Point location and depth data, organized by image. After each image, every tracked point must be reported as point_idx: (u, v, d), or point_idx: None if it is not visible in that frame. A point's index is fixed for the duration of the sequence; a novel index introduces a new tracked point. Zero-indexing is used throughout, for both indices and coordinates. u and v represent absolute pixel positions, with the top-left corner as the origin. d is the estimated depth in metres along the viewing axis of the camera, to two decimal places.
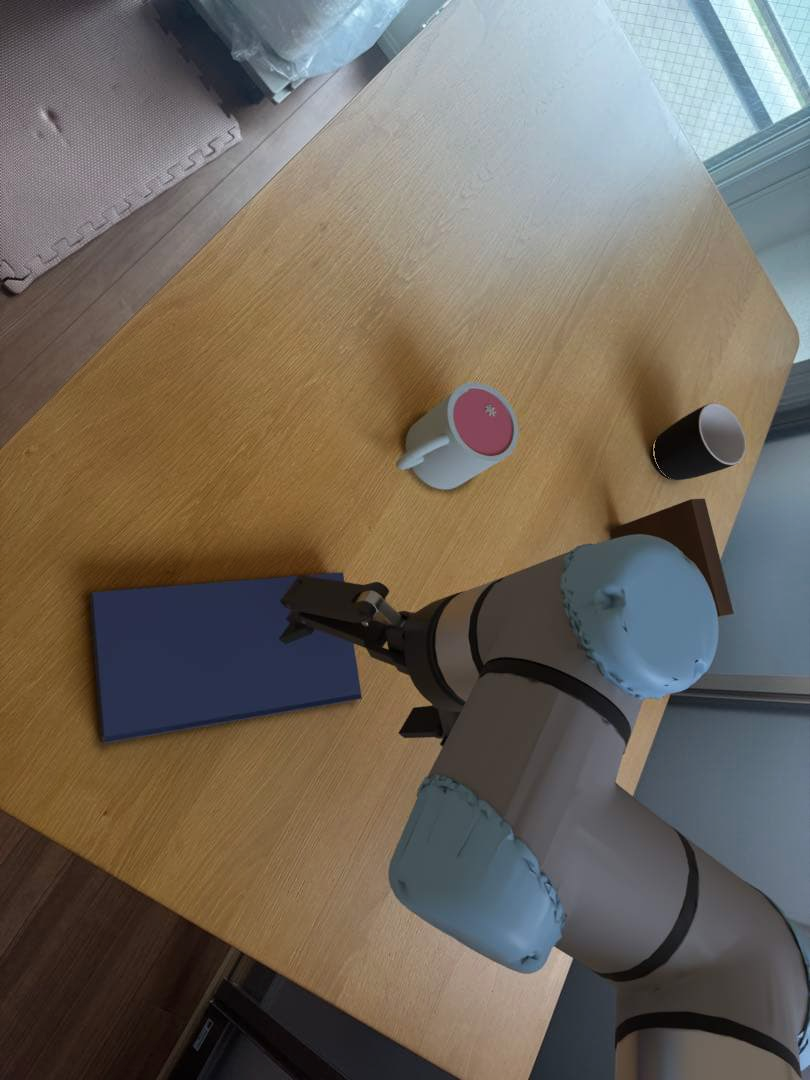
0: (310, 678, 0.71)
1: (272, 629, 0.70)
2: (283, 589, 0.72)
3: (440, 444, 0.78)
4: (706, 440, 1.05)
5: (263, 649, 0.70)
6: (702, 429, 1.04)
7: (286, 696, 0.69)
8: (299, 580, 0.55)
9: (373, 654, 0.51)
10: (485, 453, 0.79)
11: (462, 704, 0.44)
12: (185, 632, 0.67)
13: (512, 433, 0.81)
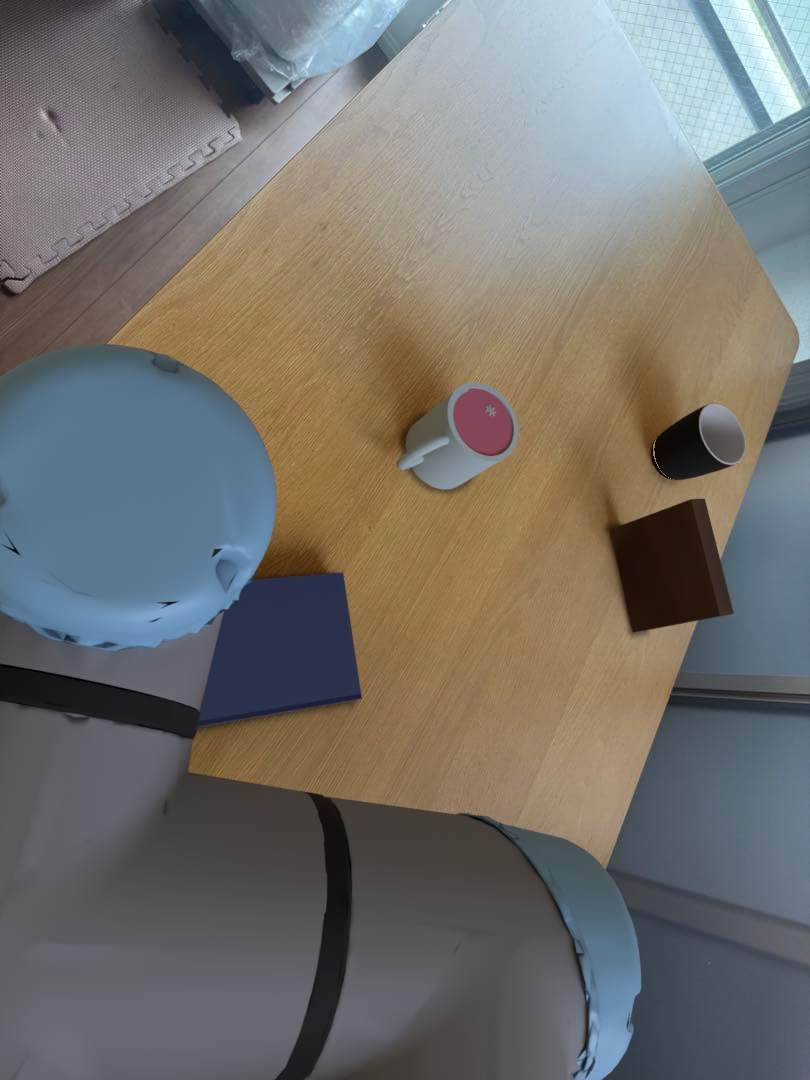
0: (310, 678, 0.71)
1: (272, 629, 0.70)
2: (283, 589, 0.72)
3: (440, 444, 0.78)
4: (706, 440, 1.05)
5: (263, 649, 0.70)
6: (702, 429, 1.04)
7: (286, 696, 0.69)
8: None
9: None
10: (485, 453, 0.79)
11: None
12: None
13: (512, 433, 0.81)
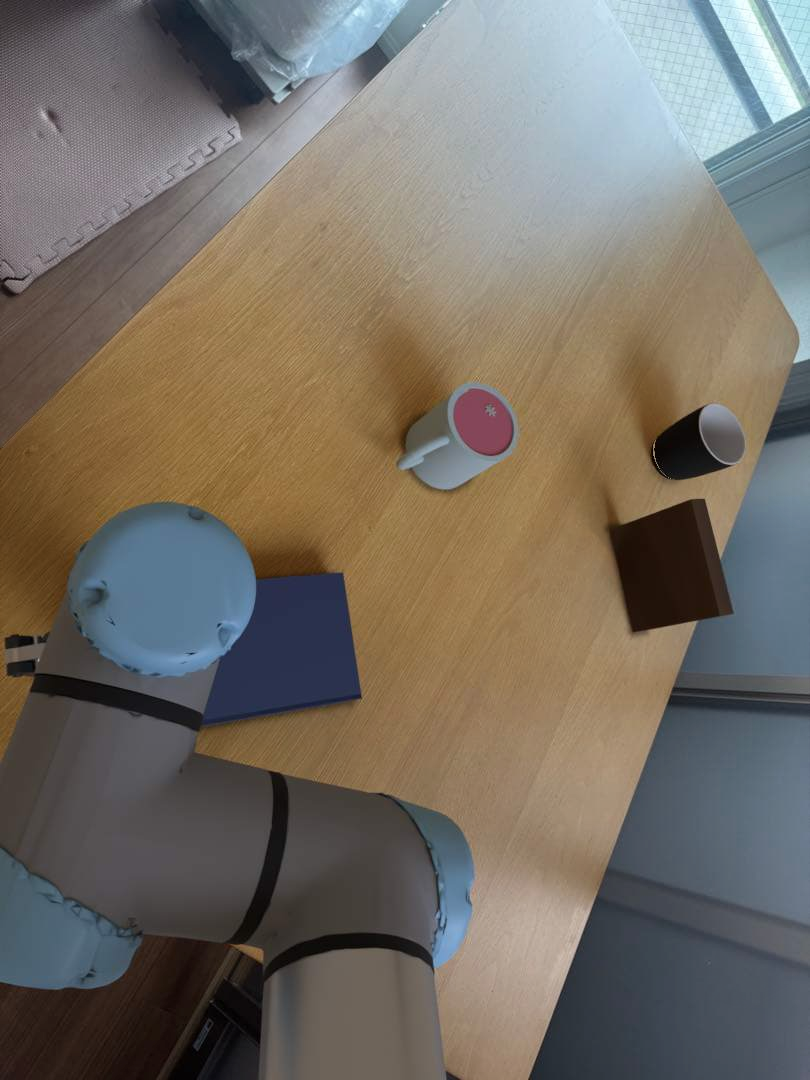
0: (310, 678, 0.71)
1: (272, 629, 0.70)
2: (283, 589, 0.72)
3: (440, 444, 0.78)
4: (706, 440, 1.05)
5: (263, 649, 0.70)
6: (702, 429, 1.04)
7: (286, 696, 0.69)
8: None
9: None
10: (485, 453, 0.79)
11: None
12: None
13: (512, 433, 0.81)
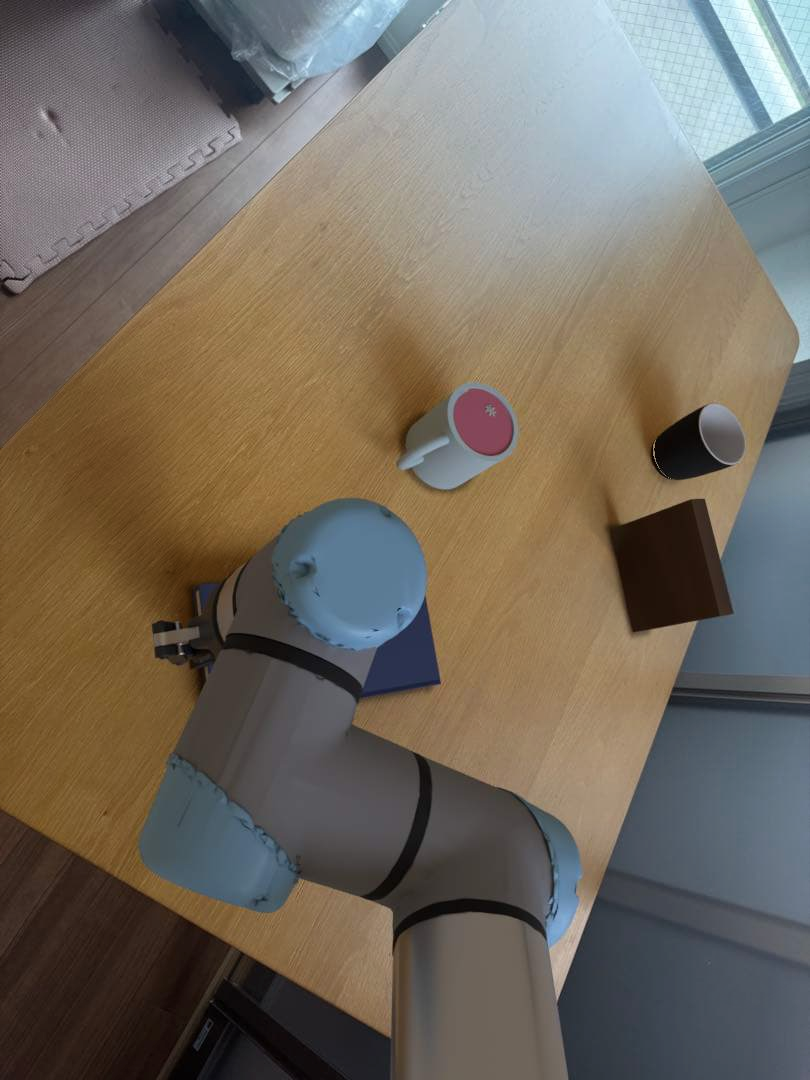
0: (395, 665, 0.75)
1: None
2: None
3: (440, 444, 0.78)
4: (706, 440, 1.05)
5: None
6: (702, 429, 1.04)
7: (373, 681, 0.74)
8: None
9: None
10: (485, 453, 0.79)
11: None
12: None
13: (512, 433, 0.81)
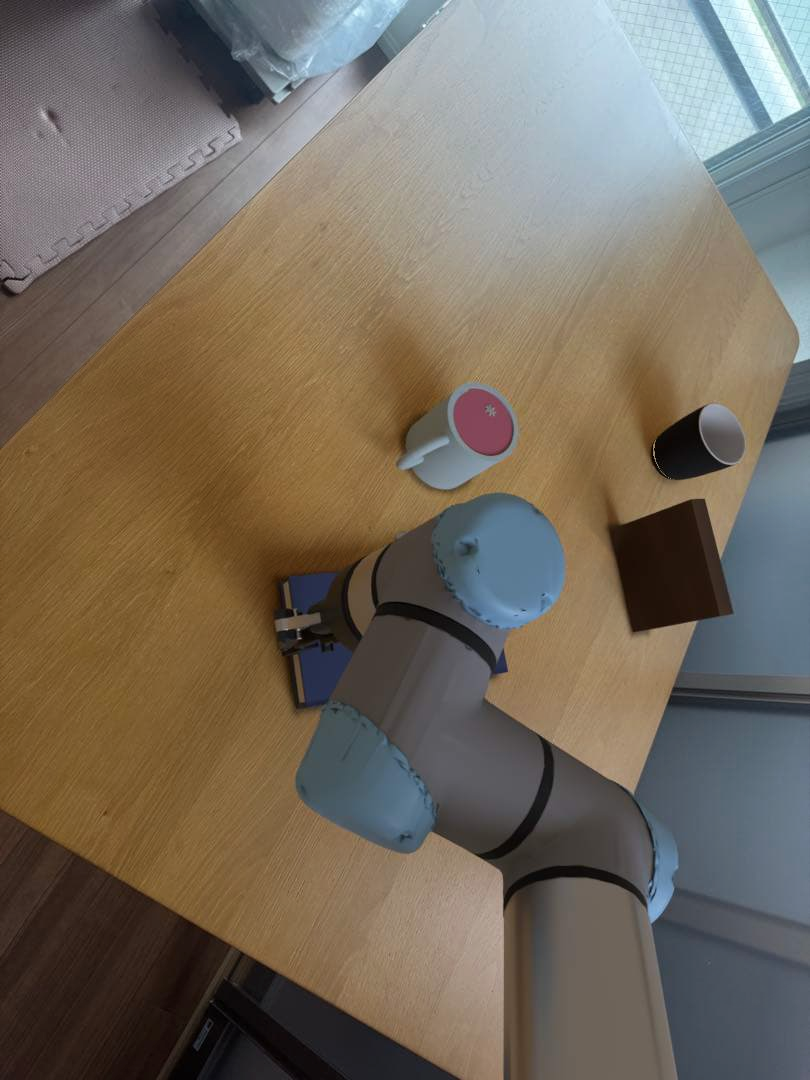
0: None
1: None
2: None
3: (440, 444, 0.78)
4: (706, 440, 1.05)
5: None
6: (702, 429, 1.04)
7: None
8: (275, 627, 0.64)
9: (331, 642, 0.59)
10: (485, 453, 0.79)
11: None
12: None
13: (512, 433, 0.81)
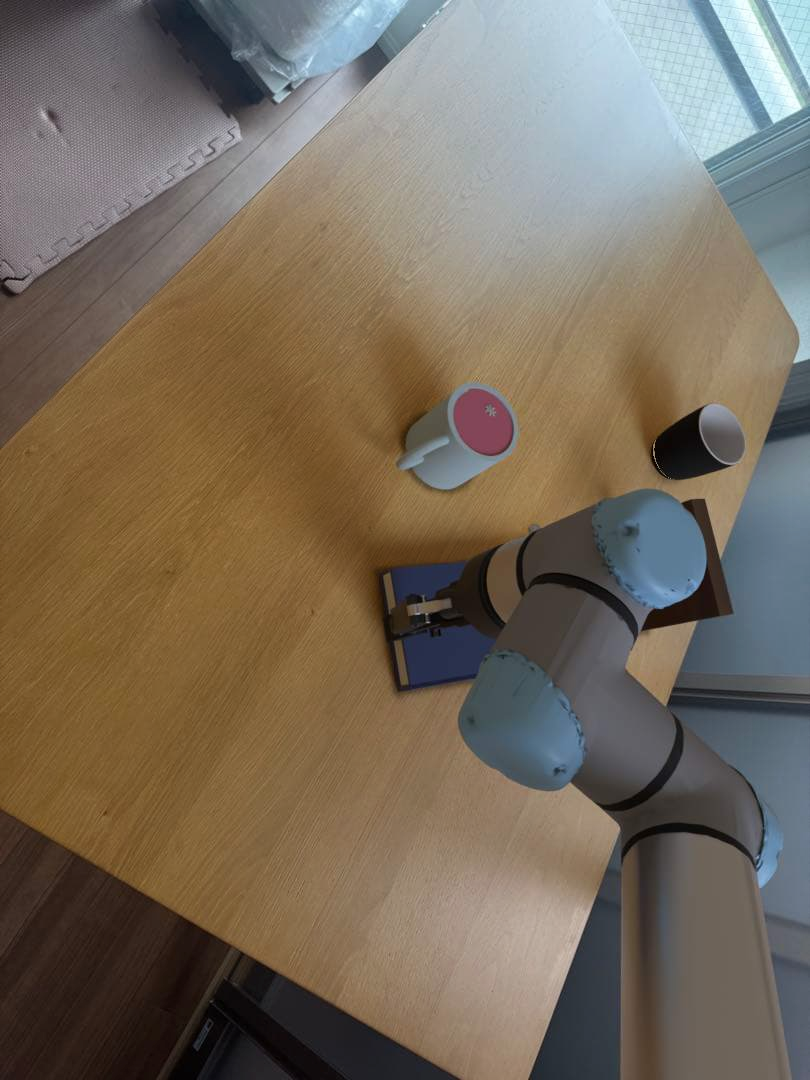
0: None
1: None
2: None
3: (440, 444, 0.78)
4: (706, 440, 1.05)
5: None
6: (702, 429, 1.04)
7: None
8: (391, 613, 0.69)
9: (451, 627, 0.65)
10: (485, 453, 0.79)
11: None
12: None
13: (512, 433, 0.81)
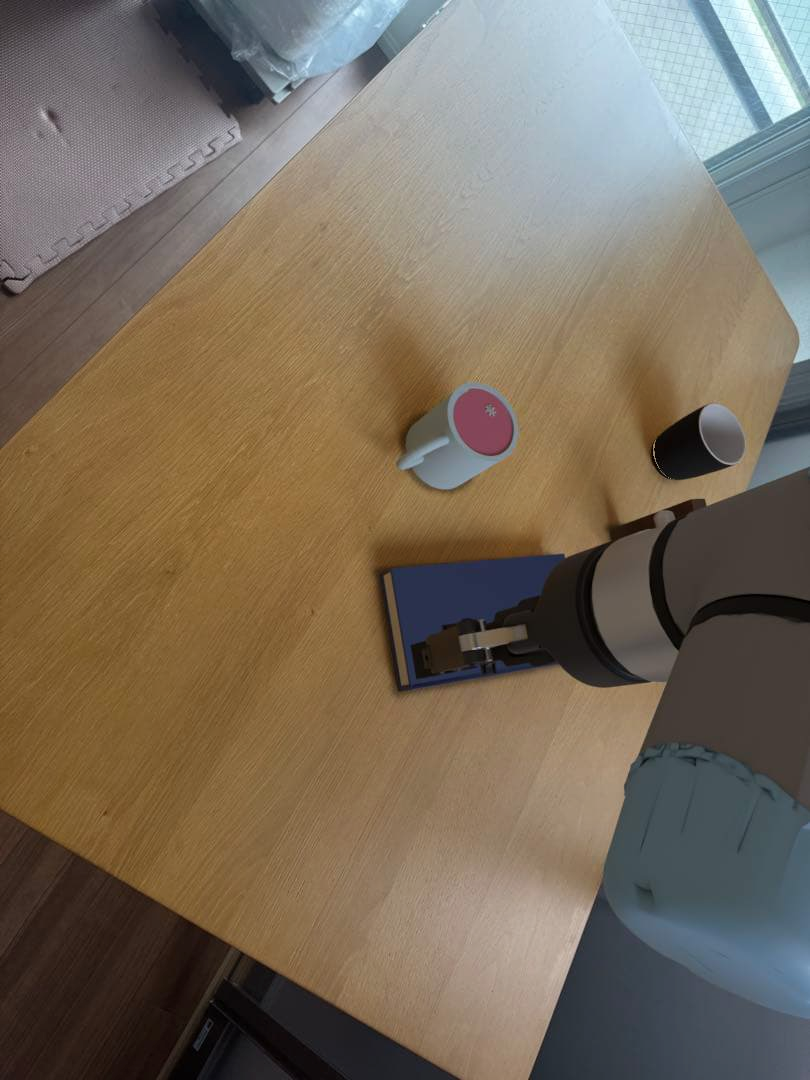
0: None
1: (518, 600, 0.85)
2: (522, 566, 0.86)
3: (440, 444, 0.78)
4: (706, 440, 1.05)
5: None
6: (702, 429, 1.04)
7: None
8: (428, 644, 0.49)
9: None
10: (485, 453, 0.79)
11: None
12: (458, 601, 0.81)
13: (512, 433, 0.81)
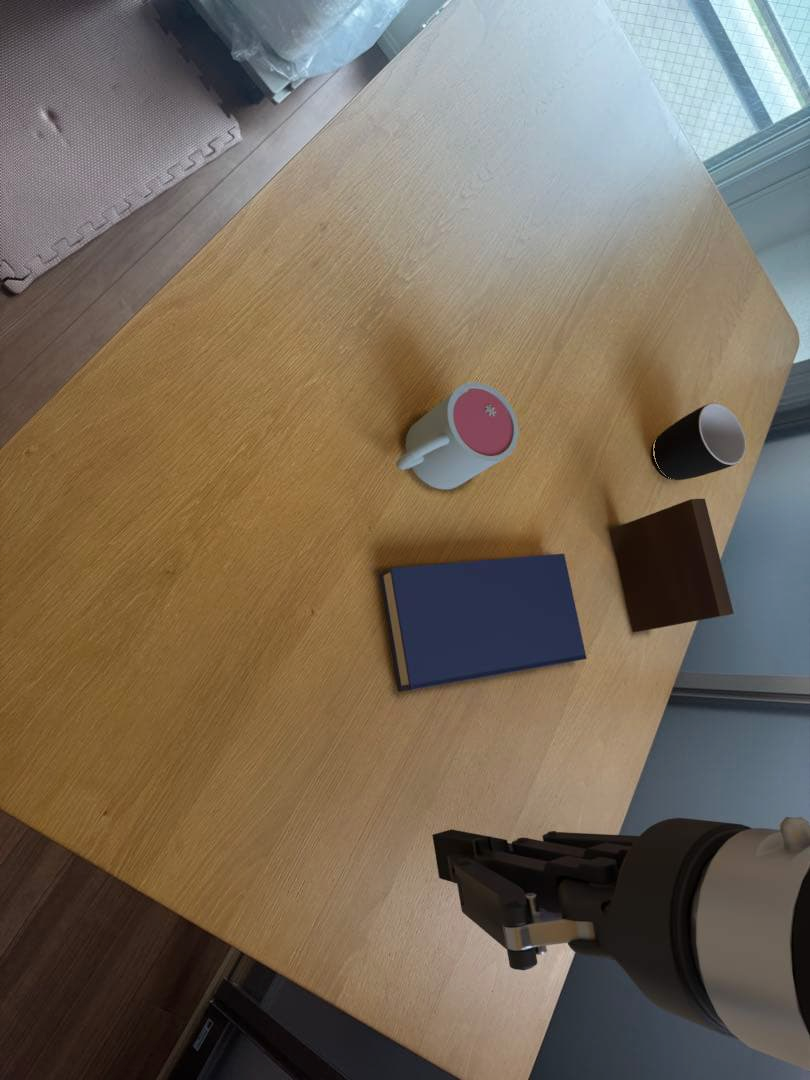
0: (549, 641, 0.85)
1: (518, 600, 0.85)
2: (522, 566, 0.86)
3: (440, 444, 0.78)
4: (706, 440, 1.05)
5: (513, 616, 0.84)
6: (702, 429, 1.04)
7: (533, 655, 0.84)
8: (458, 874, 0.40)
9: None
10: (485, 453, 0.79)
11: None
12: (458, 601, 0.81)
13: (512, 433, 0.81)
